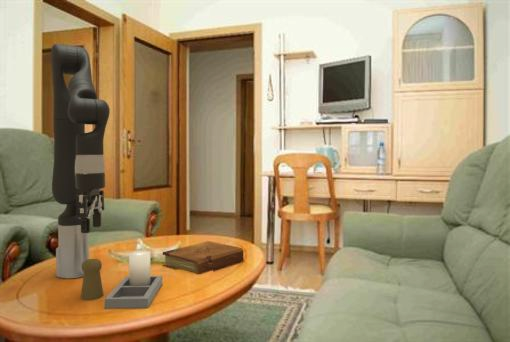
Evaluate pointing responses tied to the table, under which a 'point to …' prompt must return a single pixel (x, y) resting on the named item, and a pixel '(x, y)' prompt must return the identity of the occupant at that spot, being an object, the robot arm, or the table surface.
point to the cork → (91, 280)
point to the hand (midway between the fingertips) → (91, 229)
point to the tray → (132, 294)
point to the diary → (203, 257)
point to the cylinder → (139, 268)
